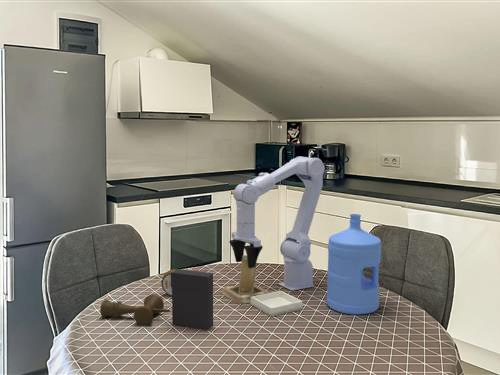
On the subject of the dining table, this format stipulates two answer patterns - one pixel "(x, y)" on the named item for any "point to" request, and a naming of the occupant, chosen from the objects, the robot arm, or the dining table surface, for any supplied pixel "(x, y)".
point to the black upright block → (192, 299)
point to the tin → (168, 282)
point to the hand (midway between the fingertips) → (245, 264)
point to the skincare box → (246, 278)
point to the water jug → (353, 270)
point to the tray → (276, 303)
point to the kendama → (135, 309)
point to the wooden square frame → (232, 294)
